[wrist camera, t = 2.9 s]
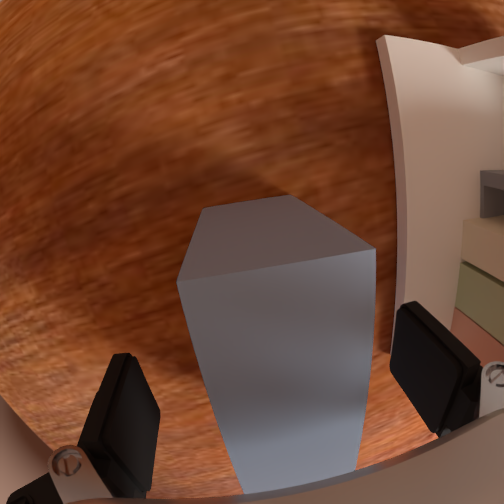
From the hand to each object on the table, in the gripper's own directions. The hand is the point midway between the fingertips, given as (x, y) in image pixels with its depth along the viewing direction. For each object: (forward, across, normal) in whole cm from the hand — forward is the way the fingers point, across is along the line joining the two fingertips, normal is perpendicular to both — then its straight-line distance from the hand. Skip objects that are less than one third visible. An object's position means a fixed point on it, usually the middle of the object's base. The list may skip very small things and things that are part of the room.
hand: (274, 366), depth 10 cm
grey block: (+6, 0, +1) cm, 6 cm away
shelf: (+6, -15, -3) cm, 16 cm away
